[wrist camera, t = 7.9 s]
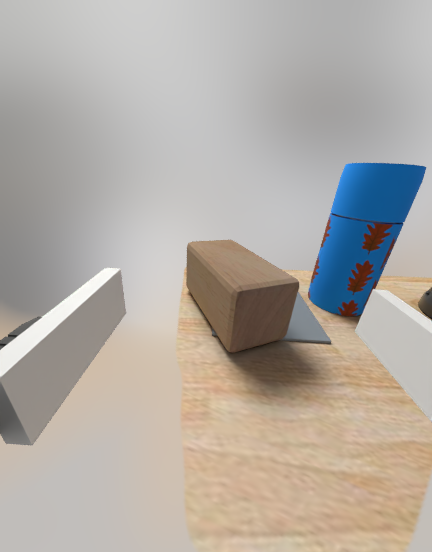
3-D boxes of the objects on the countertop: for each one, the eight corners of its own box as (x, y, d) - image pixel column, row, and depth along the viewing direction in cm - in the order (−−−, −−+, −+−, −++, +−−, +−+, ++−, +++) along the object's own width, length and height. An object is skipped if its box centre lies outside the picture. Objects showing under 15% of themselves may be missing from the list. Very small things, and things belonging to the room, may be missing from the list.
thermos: (304, 285, 50) (337, 165, 40) (354, 293, 48) (403, 170, 38) (310, 310, 41) (356, 161, 30) (373, 322, 39) (446, 166, 28)
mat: (289, 281, 52) (290, 280, 51) (330, 343, 33) (331, 341, 32) (215, 276, 51) (215, 274, 51) (212, 335, 32) (212, 333, 32)
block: (304, 280, 28) (232, 238, 44) (236, 290, 24) (185, 240, 40) (288, 340, 32) (228, 281, 48) (228, 357, 28) (185, 287, 44)
